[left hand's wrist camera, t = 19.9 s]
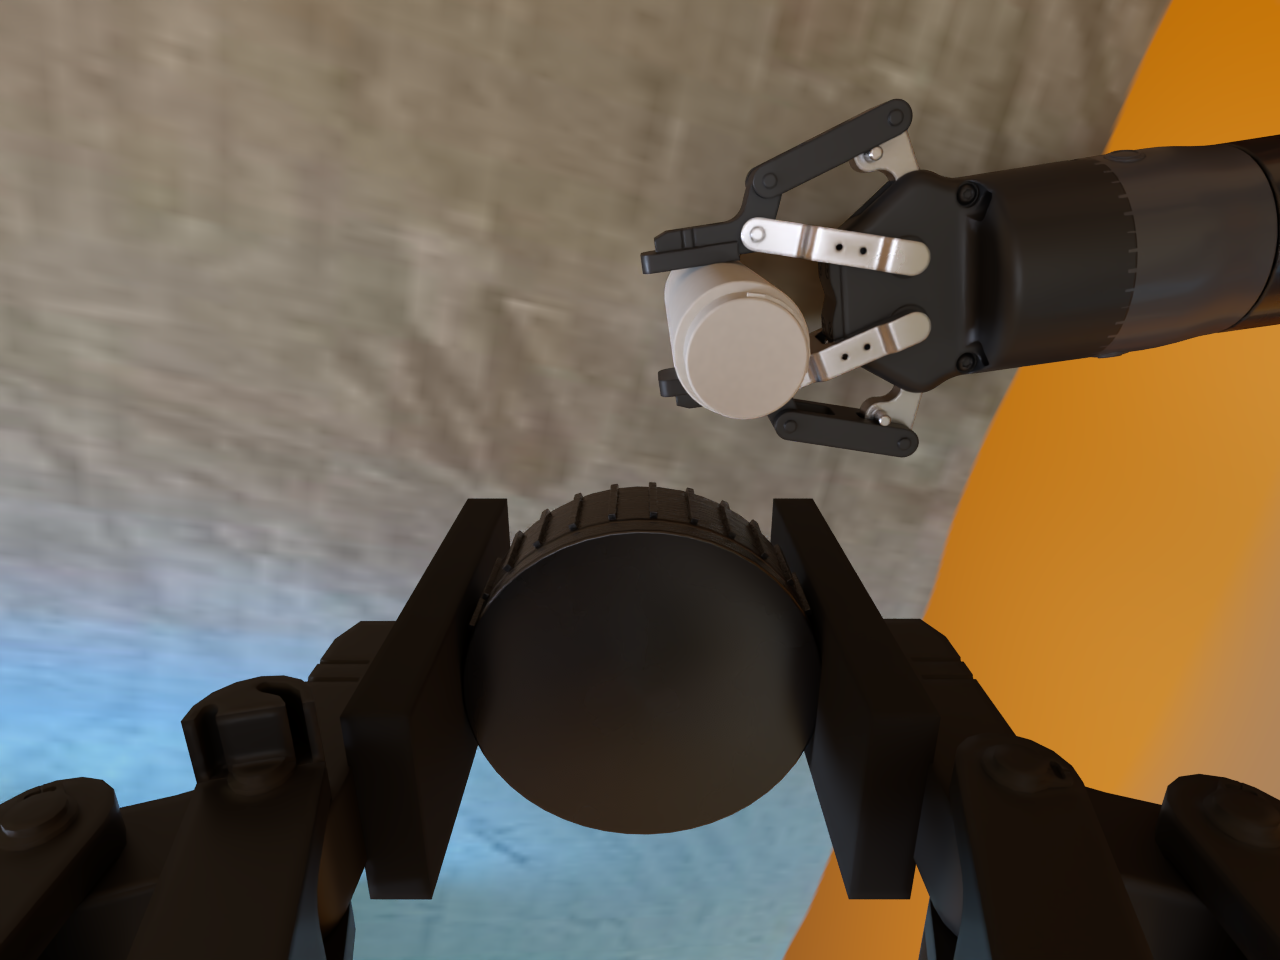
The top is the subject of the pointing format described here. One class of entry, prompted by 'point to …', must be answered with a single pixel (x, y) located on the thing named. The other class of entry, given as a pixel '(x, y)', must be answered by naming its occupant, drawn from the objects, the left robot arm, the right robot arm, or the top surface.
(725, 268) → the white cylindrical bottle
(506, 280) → the top surface
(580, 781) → the lid
